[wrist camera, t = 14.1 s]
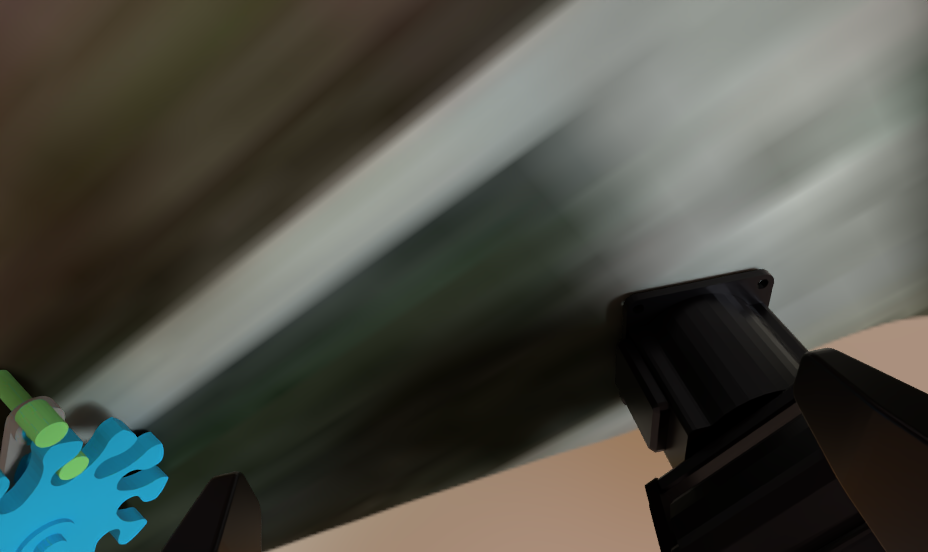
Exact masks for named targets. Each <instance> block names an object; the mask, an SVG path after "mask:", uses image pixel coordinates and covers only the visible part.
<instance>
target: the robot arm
mask: <svg viewBox="0 0 928 552" xmlns="http://www.w3.org/2000/svg"><path fill="white" fill-rule="evenodd" d="M761 280H762V281H761ZM760 281H761V282H760ZM758 282H759V283H758ZM773 284H774V278H773V277H772V275H771V274H770V273H769V272H768V271H766V270H764V269H759V270H754V271H749V272H744V273H739V274H734V275H729V276H724V277H719V278H714V279H709V280H704V281H699V282H694V283H689V284H684V285H679V286H674V287H669V288H664V289H659V290H654V291H649V292H644V293H639V294H634V295H632V296H630V297H628V298H627V299H626V300H625V302H624V305H623V325H622V339H621V340H619V342H618V344H617V351H616V378H615V382H616V385H617V387H618V389H619V391H620V398H621V400H622V402H623V403H624V404H625V405H627V407H628V409H629V411H630V413H631V414H632V416H633V418H634V420H635V422H636V424H637V426H638V428H639V430H640V432H641V434H642V436H643V438H644V440H645V442H646V444H647V446H648V448H649V449H651V450H652V451H654V452H660V451H664V453H665V455H666V457H667V459H668V460H669V462H670V464H671V466H672V468H673V469H672V470H670V471H669V472H667V473H666V474H665V475H663V476H662V477H660V478H659V479H658V478H654V479H653V480H652V481H650V482H649V483H647V484H646V485H645V489H646V493H647V497H648V501H649V508H650V511H651V515H652V519H653V523H654V527H655V531H656V534H657V538H658V542H659V546H660V550H661V552H928V394H927V393H925V392H923V391H920V390H918V389H916V388H914V387H912V386H910V385H908V384H906V383H904V382H902V381H900V380H898V379H896V378H893V377H892V376H889V375H887V374H885V373H883V372H881V371H879V370H877V369H875V368H873V367H871V366H869V365H867V364H864V363H863V362H860V361H858V360H856V359H854V358H852V357H850V356H848V355H846V354H844V353H842V352H840V351H837V350H835V349H832V348H823V349H819V350H814V351H808V350H807V349H806V348H805V347H804V346H803V345H802V344H801V342H800V341H799V340H798V339H797V338H796V337H795V336H794V335H793V334H792V333H791V332H790V331H789V329H788V328H787V327H786V326H785V325H784V324H783V323H782V322H781V321H780V320H779V319H778V318H777V317H776V315H775V314H774V313H773V312H772V311H771V310H770V309H769V308H768V306H769V301H770V297H771V292H772V288H773ZM638 304H640V305H639V306H638V307H636V308H634V307H635V306H636V305H638ZM161 552H261V509H260V505H259V502H258V500H257V498H256V496H255V494H254V492H253V491H252V489H251V487H250V485H249V483H248V481H247V480H246V478H245V476H244V475H243V474H242V473H241V472H231V473H226V474H222V475H217V476H215V477H213V478H212V479H211V480H210V481H209V482H208V484H207V485H206V487H205V488H204V489H203V491H202V492H201V494H200V495H199V497H198V498H197V500H196V501H195V502H194V504H193V505H192V507H191V508H190V510H189V511H188V513H187V514H186V515H185V517H184V518H183V520H182V521H181V523H180V524H179V526H178V527H177V528H176V530H175V531H174V533H173V534H172V536H171V537H170V539H169V540H168V541H167V543H166V544H165V546H164V547H163V549H162V550H161Z"/></svg>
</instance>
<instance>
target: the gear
mask: <svg viewBox="0 0 928 552" xmlns="http://www.w3.org/2000/svg"><path fill="white" fill-rule="evenodd" d="M0 398H1V400H2V401H3V402H4V403H5V404H6V405H7V407H8V408H9V409H10V410H11V413H10V414H9V415H8V417H7V419H6V422H5V428H4V434H3V441H2V447H1V453H0V552H95V548H96V544H97V542H98V541H99V540H100V538H101V537H102V536H104V535H105V534H106V533H108V532H110V533H111V534H112V536H113V537H114V538H115V539H116V540H117V542H118V543H119V544H126V543H128V542H129V541H130V540H131V539H133V538H134V537H135V536H136V535H137V534H138V533H139V532H140V530H141V529H142V528H143V527H144V526H145V525H146V524H147V521H146V520H145V518H144V517H143V516H142V515H141V514H140V513H139V512H138V511H137V510H136V508H134V507H130V508H127V509H121V510H118V508H119V506H120V505H121V504H122V503H123V502H124V501H126V500H127V499H129V498H131V497H133V496H139V497H140V498H141V500H142V501H144V502H148V501H151V500H153V499H155V498H157V497H158V495H159V494H160V493H161V491H162V490H163V488H164V486H165V484H166V482H167V480H168V476H167V475H166V474H165V473H164V472H163V471H162V470H161V469H160V468H159V467H157V466H156V465H157V464H158V463H159V462H160V461H161V460H162V458H163V453H164V451H163V445H162V443H161V442H160V441H159V440H158V439H157V438H156V437H155V436H154V435H153V434H152V433H151V432H147V433H144V434H142V435H140V436H139V437H138V438H137V436H136V435H135V434H134V433H133V432H132V431H131V430H130V429H129V428H128V427H127V426H126V425H125V424H124V423H123V422H122V421H121V420H119V419H116V418H113V417H110V418H108V419H107V420H105V421H104V422H103V423H101V424H100V425H99V426H98V428H97V429H96V431H95V433H94V434H93V436H92V437H91V439H90V440H89V442H88V443H87V444H86V445H85V446H84V447H83V448H82V446H83V441H82V440H81V439H80V438H79V437H78V436H77V435H76V434H75V433H74V432H73V430H72V429H71V428H68V424H67V423H66V422H65V413H64V411H63V410H62V409H61V408H60V407H59V406H58V404H57V403H56V402H55V401H54V400H53V399H52V398H50V397H46V396H39V397H34V398H32V397H31V396H30V395H29V394H28V393H27V392H26V391H25V389H24V388H23V387H22V386H21V385H20V384H19V383H18V382H17V381H16V379H15V378H14V377H13V376H12V375H11V374H10V373H9V372H8V371H7V370H0ZM81 448H82V449H81ZM133 470H141V471H139V472H137V473H135V474H133V475H130V476H127V477H123V476H124V475H126V474H127V473H128V472H130V471H133ZM122 477H123V478H122Z"/></svg>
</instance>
